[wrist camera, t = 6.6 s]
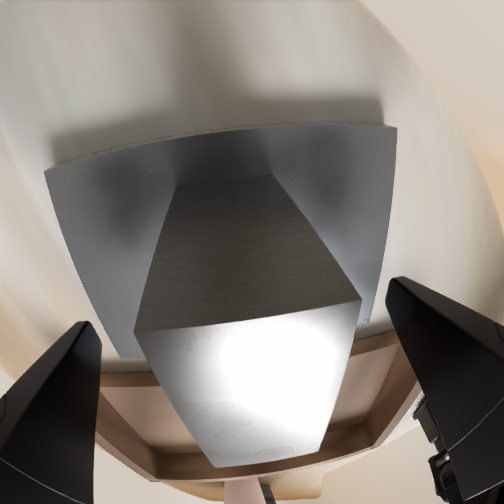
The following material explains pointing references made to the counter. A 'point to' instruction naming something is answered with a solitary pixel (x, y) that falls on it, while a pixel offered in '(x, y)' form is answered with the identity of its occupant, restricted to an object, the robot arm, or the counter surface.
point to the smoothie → (243, 492)
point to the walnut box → (201, 469)
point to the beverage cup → (267, 494)
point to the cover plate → (142, 199)
